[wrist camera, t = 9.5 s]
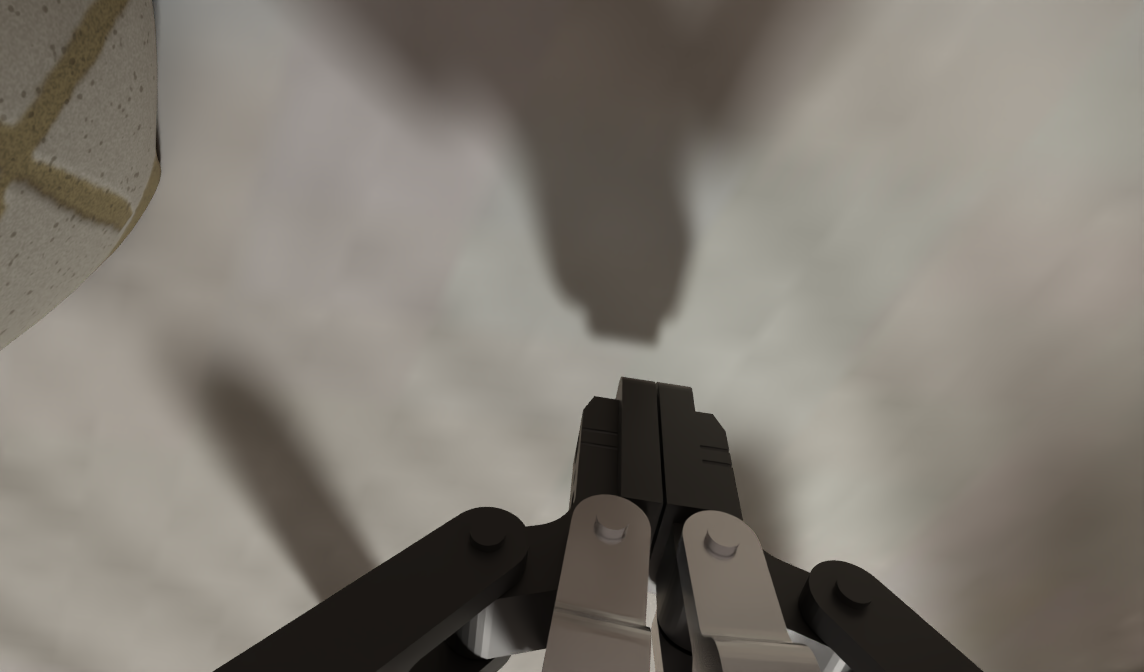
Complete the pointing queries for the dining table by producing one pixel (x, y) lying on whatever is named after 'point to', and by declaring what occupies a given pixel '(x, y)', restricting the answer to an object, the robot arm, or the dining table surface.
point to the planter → (71, 144)
